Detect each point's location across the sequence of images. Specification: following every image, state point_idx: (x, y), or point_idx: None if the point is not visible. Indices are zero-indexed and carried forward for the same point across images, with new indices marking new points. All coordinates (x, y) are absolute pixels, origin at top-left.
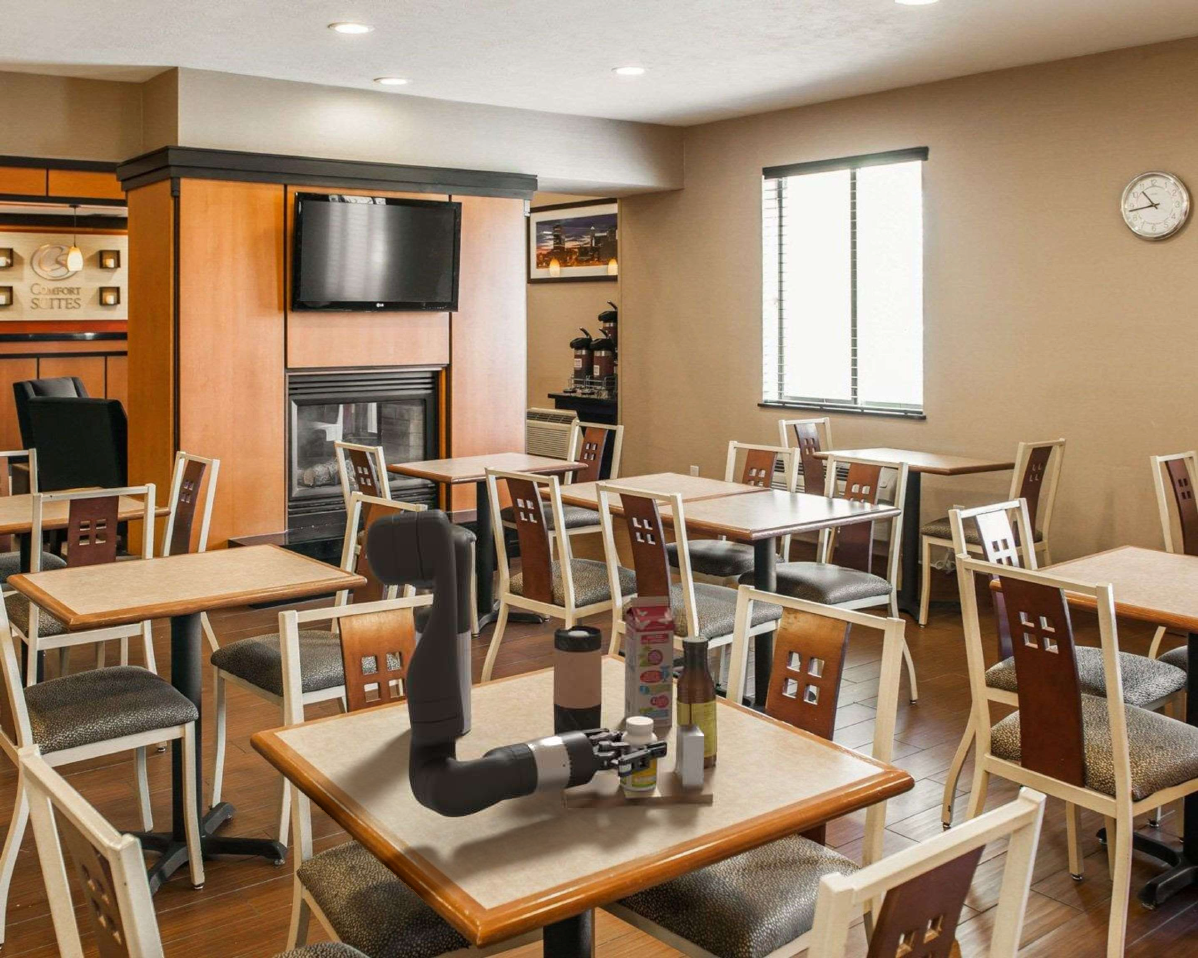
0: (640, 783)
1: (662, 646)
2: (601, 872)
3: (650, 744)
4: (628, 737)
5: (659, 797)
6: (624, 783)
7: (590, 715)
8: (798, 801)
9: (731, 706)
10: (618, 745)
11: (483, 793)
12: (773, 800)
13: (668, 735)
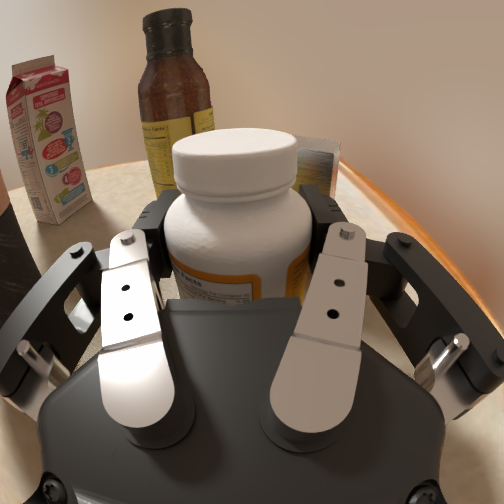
0: None
1: (59, 105)
2: None
3: (327, 211)
4: (241, 228)
5: None
6: None
7: (3, 239)
8: (370, 200)
9: (117, 164)
10: (363, 310)
11: None
12: (362, 211)
13: (102, 209)
